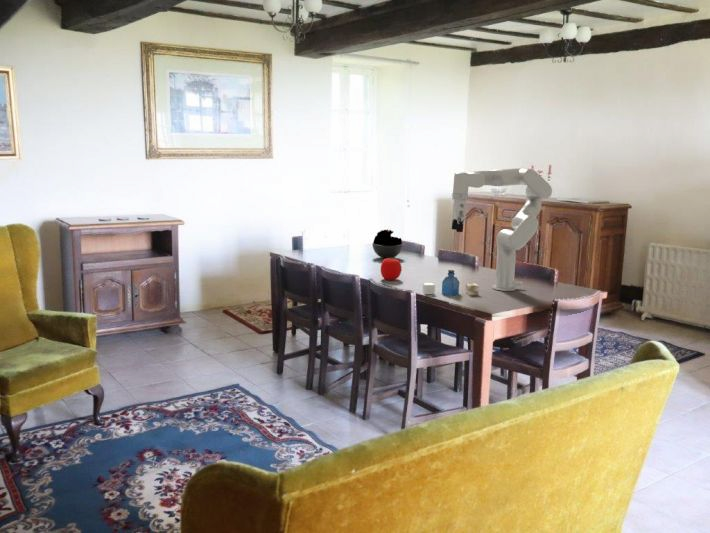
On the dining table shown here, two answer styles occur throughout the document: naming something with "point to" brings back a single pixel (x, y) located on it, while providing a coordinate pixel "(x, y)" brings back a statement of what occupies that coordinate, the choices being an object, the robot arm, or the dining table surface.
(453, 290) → the perfume bottle
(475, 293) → the birch block
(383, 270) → the tomato
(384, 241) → the coal bowl
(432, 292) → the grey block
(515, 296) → the dining table surface
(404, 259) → the dining table surface
